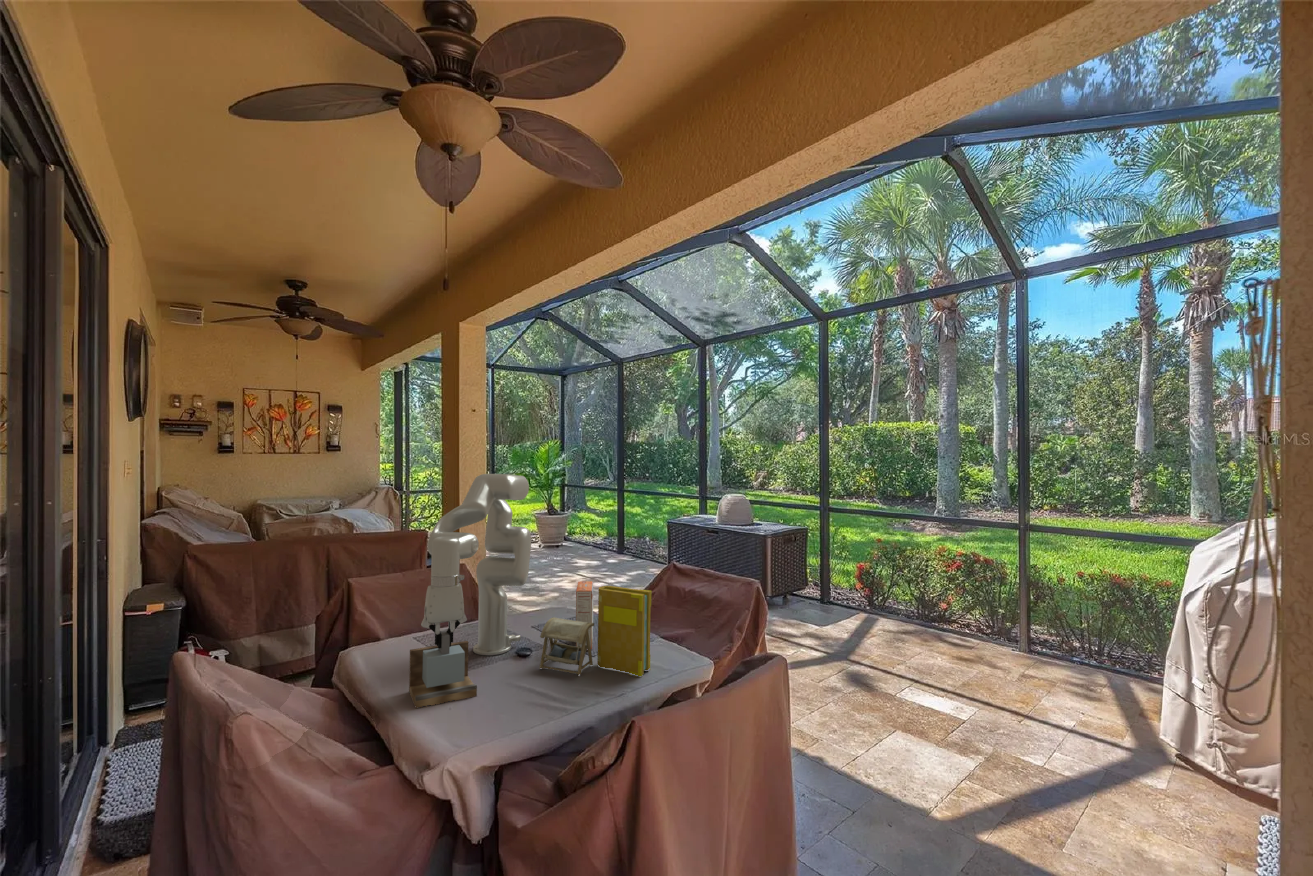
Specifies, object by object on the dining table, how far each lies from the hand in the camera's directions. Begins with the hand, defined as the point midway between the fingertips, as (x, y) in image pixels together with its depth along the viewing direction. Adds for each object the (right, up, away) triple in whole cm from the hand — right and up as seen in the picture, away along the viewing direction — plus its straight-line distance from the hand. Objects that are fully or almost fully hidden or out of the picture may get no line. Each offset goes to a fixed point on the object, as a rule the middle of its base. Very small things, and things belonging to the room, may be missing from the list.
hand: (443, 645), depth 165 cm
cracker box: (+34, -15, +43) cm, 57 cm away
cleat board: (0, -14, -1) cm, 14 cm away
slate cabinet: (0, -10, 0) cm, 10 cm away
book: (+49, -15, +21) cm, 55 cm away
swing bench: (+32, -15, +21) cm, 41 cm away
